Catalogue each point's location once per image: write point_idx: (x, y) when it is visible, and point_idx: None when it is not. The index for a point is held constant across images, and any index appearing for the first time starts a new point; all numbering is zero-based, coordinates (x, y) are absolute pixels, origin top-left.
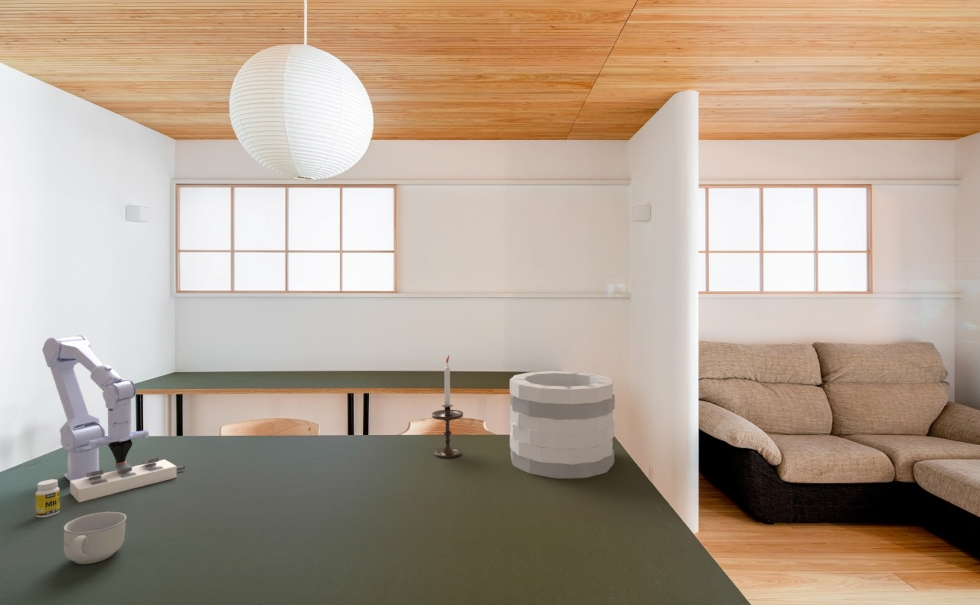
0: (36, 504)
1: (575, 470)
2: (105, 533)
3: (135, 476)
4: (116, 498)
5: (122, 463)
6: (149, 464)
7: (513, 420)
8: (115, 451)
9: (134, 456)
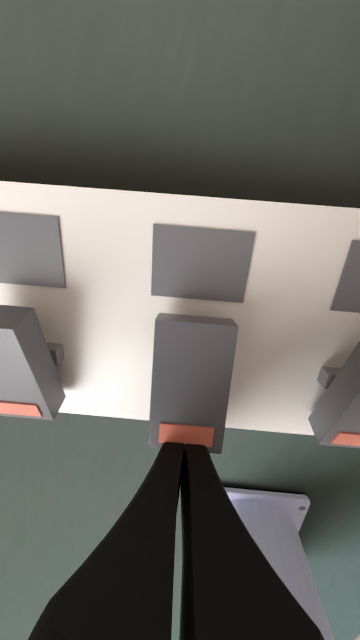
0: None
1: None
2: None
3: (172, 194)
4: (332, 83)
5: (184, 425)
6: None
7: None
8: (265, 572)
9: (63, 571)
